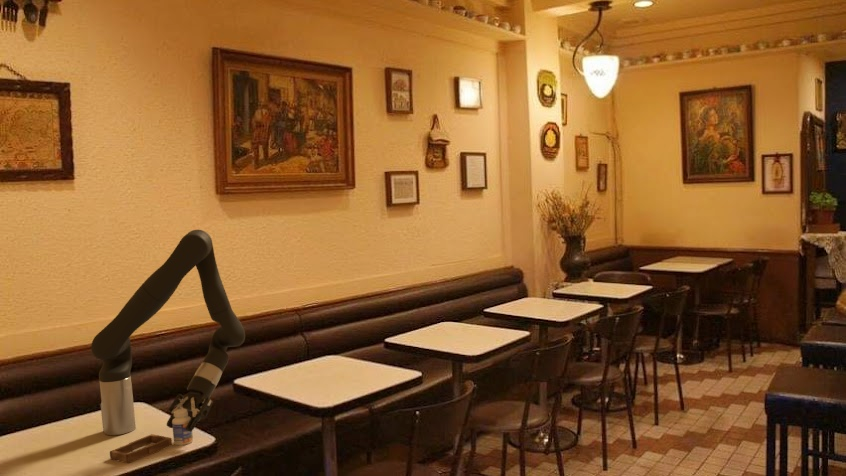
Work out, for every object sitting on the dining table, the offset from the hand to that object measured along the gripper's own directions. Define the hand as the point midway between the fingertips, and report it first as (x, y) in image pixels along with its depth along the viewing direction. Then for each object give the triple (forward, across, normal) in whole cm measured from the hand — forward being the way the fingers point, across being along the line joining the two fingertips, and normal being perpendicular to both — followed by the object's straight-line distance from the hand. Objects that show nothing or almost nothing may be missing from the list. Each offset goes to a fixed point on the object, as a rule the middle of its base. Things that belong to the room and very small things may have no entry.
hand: (178, 428), depth 209 cm
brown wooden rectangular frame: (+9, -6, -3) cm, 11 cm away
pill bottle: (+3, 0, +4) cm, 5 cm away
